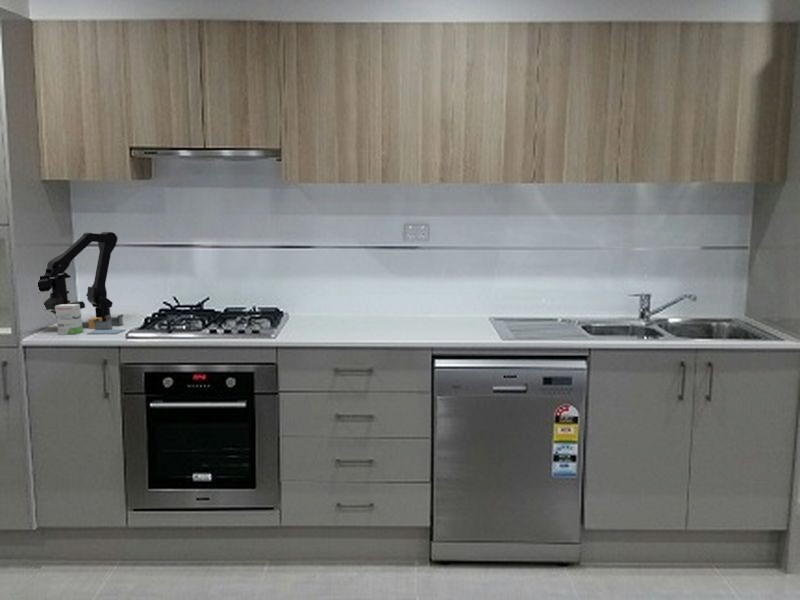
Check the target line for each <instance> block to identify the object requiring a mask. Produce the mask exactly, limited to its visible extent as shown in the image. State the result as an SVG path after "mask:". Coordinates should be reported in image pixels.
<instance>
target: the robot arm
mask: <svg viewBox="0 0 800 600" xmlns="http://www.w3.org/2000/svg"><path fill="white" fill-rule="evenodd" d="M95 242H96V243H97V245H98V250H99V253H98V258H97V259H98V260H97V265H96V269H95V275H94V281H93V284H92V286H87V292H86V294H85V297H87V301H88V302H89V303H90V304H91V305H92V308H94V310H95V318H100V317H102V321H106V318H105V316H106V315H110V317H112V315H111V308H112V307H113V301H111V300H110V299H109V298H107V297H108V294H107V293H108V292H107V288H106V282H107V277H108V272H109V271H108V270H109V265H110V260H111V255H112V253H113V251H114V249H115V248H116V245H117V242H118V236H117V234H116V233H114V232H112V231H111V232H110V231H102V232H101V233H93V232H84V233H83V234H82V236H81V237H79V238H78V239H77V240H76V241H75V242H74V243H73V244H72V245H70V246H69V248H67V249H66V250H65V251H64V252H63V253H62V254H60V255H57V256H55V257H54V258H52V259H50V260H49V261H48V262H47V264H46V265H47V267H46V269H45V271H46V273H45V275H44V276H43V275H39V276H40V280H39V282H38V287H39V290H40V291H41V292H40V293H44V292H49V291H50V290H51V292H50V294H49V295H50V297H48V298H47V299H46V300H45V301H44V305H45V307H46V309H45V311H49V310H50V313H53V314H54V315H55V316H56V311H55V306H57V305H61V304H80V310H82V309H84V308H86V304H85V302H84V301H82V300H80V301H79V300H78V301H77V300H76V301H72V302H71V300H69V298H68V294H70V291H69V290H68V288H67V280H66V279H69V278H71V275H69V274H68V273H67V272H65V271H66V270H67V269H68V268H69V267H70V264H71V263H72V261H73V260H74V259H75V258H76V257H77V256H78V255H79V254H80V253H82V251H84V249H86V248H87V247H88V246H89V245H90V244H91V243H95Z"/></svg>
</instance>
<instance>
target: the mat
mask: <svg viewBox="0 0 800 600" xmlns="http://www.w3.org/2000/svg"><path fill="white" fill-rule="evenodd" d="M123 332H126V329H111V330H95V329H93V330H92V331H89V332H87V333H86V335H118V334H120V333H123Z"/></svg>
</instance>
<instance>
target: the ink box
mask: <svg viewBox="0 0 800 600" xmlns="http://www.w3.org/2000/svg"><path fill="white" fill-rule="evenodd" d="M55 311H56V315H55V317H56V325H57V332H58V333H57V335H78V334H80V333H83V332H84V328H83V326H82V322H83V321H82V320H83V319H82V312H81V309H80V304H69V303H68V304H61V305H57V306H55Z"/></svg>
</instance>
